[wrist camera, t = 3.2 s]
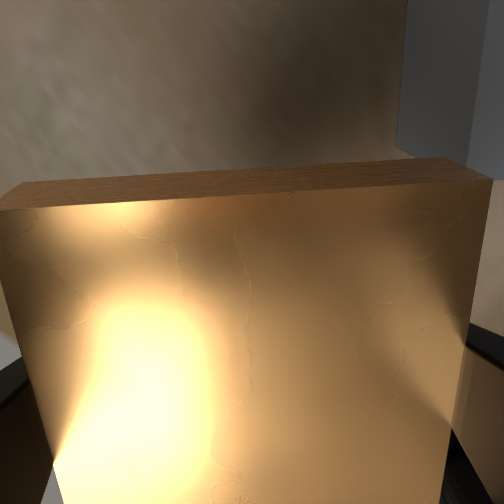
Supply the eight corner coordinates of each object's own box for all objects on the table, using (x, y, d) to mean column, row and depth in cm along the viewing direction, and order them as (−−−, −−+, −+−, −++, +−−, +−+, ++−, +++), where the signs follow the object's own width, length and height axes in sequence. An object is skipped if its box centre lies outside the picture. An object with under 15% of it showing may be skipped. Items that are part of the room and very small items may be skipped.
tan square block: (352, 347, 15) (435, 521, 9) (130, 365, 14) (80, 558, 9) (364, 120, 12) (493, 178, 7) (89, 136, 12) (-20, 211, 6)
